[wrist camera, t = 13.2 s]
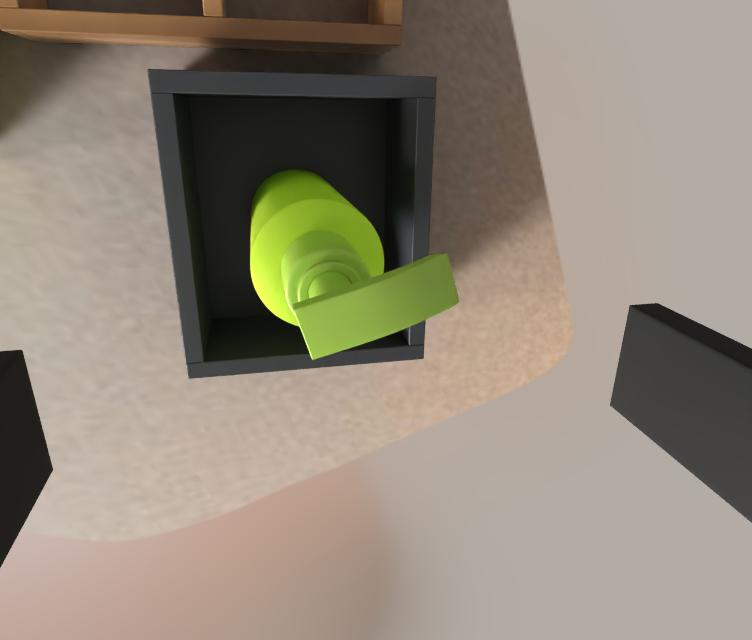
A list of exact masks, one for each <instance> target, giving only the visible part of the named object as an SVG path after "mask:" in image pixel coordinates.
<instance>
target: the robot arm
mask: <svg viewBox="0 0 752 640" xmlns="http://www.w3.org/2000/svg"><path fill="white" fill-rule="evenodd" d="M610 406H612V407H613V408H614V409H615V410H616V411H618V412H619V413H620V414H621V415H622V416H624V417H625V418H626V419H627V420H628V421H630V422H631V423H632V424H633V425H635V426H636V427H637V428H638V429H639V430H641V431H642V432H643V433H644V434H645V435H647V436H648V437H649V438H650V439H651V440H653V441H654V442H655V443H656V444H657V445H659V446H660V447H661V448H662V449H664V450H665V451H666V452H667V453H668V454H670V455H671V456H672V457H673V458H674V459H676V460H677V461H678V462H679V463H680V464H682V465H683V466H684V467H685V468H686V469H688V470H689V471H690V472H691V473H692V474H694V475H695V476H696V477H697V478H699V479H700V480H701V481H702V482H703V483H705V484H706V485H707V486H708V487H709V488H711V489H712V490H713V491H714V492H715V493H717V494H718V495H719V496H720V497H721V498H723V499H724V500H725V501H726V502H728V503H729V504H730V505H731V506H732V507H734V508H735V509H736V510H737V511H738V512H740V513H741V514H742V515H743V516H744V517H746V518H747V519H748V520H749V521H751V522H752V349H751V348H749V347H747V346H745V345H743V344H741V343H739V342H737V341H735V340H733V339H731V338H728V337H726V336H724V335H722V334H720V333H718V332H716V331H714V330H712V329H710V328H708V327H706V326H704V325H702V324H699V323H697V322H695V321H693V320H691V319H689V318H687V317H685V316H683V315H681V314H678V313H676V312H674V311H672V310H670V309H668V308H666V307H664V306H662V305H660V304H658V303H655V304H641V305H630V307H629V312H628V317H627V323H626V327H625V332H624V337H623V342H622V347H621V352H620V357H619V363H618V368H617V373H616V378H615V383H614V388H613V393H612V398H611V403H610ZM52 471H53V468H52V464H51V460H50V456H49V452H48V448H47V444H46V441H45V437H44V433H43V429H42V425H41V421H40V417H39V413H38V409H37V406H36V402H35V398H34V394H33V390H32V386H31V382H30V378H29V375H28V371H27V367H26V363H25V359H24V355H23V351H22V350H14V351H1V352H0V567H1V565H2V564H3V562H4V560H5V558H6V556H7V554H8V552H9V550H10V549H11V547H12V545H13V543H14V541H15V539H16V538H17V536H18V534H19V532H20V530H21V528H22V526H23V525H24V523H25V521H26V519H27V517H28V515H29V513H30V512H31V510H32V508H33V506H34V504H35V502H36V500H37V499H38V497H39V495H40V493H41V491H42V489H43V487H44V486H45V484H46V482H47V480H48V478H49V476H50V474H51V473H52Z"/></svg>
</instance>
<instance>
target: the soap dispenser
mask: <svg viewBox="0 0 752 640" xmlns="http://www.w3.org/2000/svg"><path fill="white" fill-rule="evenodd" d="M250 270H251V277H252V281H253V284H254V287H255V290H256V292H257V294H258V296H259V297H260V299H261V300H262V302H263V303H264V304H265V306H266V307H267V308H268V309H269V310H270V311H271V312H272V313H274V314H275V315H276V316H278V317H279V318H281V319H282V320H284V321H286V322H288V323H290V324H293V325H296V326H300V329H301V332H302V334H303V337H304V340H305V342H306V345H307V347H308V350H309V353H310V355H311V358H312V360H314V359H317V358H320V357H324V356H327V355H330V354H333V353H336V352H339V351H343V350H346V349H349V348H352V347H355V346H358V345H361V344H364V343H367V342H370V341H373V340H376V339H379V338H382V337H384V336H387V335H390V334H393V333H395V332H398V331H400V330H403V329H405V328H408V327H410V326H413V325H415V324H417V323H419V322H422V321H424V320H426V319H428V318H430V317H432V316H434V315H436V314H438V313H440V312H442V311H444V310H446V309H448V308H450V307H452V306H454V305H456V304H457V303H458V302H459V298H458V294H457V290H456V286H455V281H454V277H453V273H452V269H451V265H450V261H449V257H448V254H447V253H439V254H431V255H429V256H426V257H424V258H422V259H419V260H417V261H415V262H412V263H410V264H408V265H405V266H403V267H400V268H397V269H395V270H392V271H389V272H387V273H384V274H383V271H384V253H383V248H382V244H381V241H380V238H379V236H378V234H377V232H376V230H375V229H374V227H373V226H372V224H371V223H370V222H369V221H368V219H367V218H366V217H365V216H364V215H362V214H361V213H360V212H359V211H358V210H357V209H356V208H355V207H354V206H353V205H352V204H350V203H349V202H348V201H347V200H346V199H345V198H344V197H343V196H342V195H341V194H340V193H338V192H337V191H336V190H335V189H334V188H333V187H332V186H331V185H330V184H329V183H328V182H326V181H325V180H324V179H323V178H322V177H320V176H319V175H317V174H315V173H313V172H310V171H307V170H302V169H288V170H283V171H280V172H277V173H275V174H273V175H272V176H270V177H269V178H267V179H266V180H265V181H264V182H263V183H262V184H261V185H260V187H259V188H258V189H257V191H256V193H255V195H254V198H253V201H252V205H251V238H250Z"/></svg>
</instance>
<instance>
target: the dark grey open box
mask: <svg viewBox="0 0 752 640" xmlns="http://www.w3.org/2000/svg"><path fill="white" fill-rule="evenodd" d="M148 77H149V85H150V92H151V100H152V108H153V116H154V124H155V131H156V139H157V147H158V154H159V162H160V170H161V178H162V185H163V193H164V201H165V208H166V216H167V224H168V232H169V239H170V247H171V255H172V262H173V270H174V278H175V286H176V293H177V301H178V309H179V316H180V324H181V332H182V340H183V347H184V355H185V362H186V370H187V377H188V379H191V378H203V377H214V376H226V375H238V374H250V373H262V372H273V371H285V370H297V369H309V368H321V367H332V366H344V365H356V364H368V363H380V362H391V361H403V360H415V359H423V358H424V338H425V320H424V321H422V322H419V323H417V324H415V325H413V326H410V327H408V328H405V329H403V330H400V331H398V332H395V333H393V334H390V335H387V336H384V337H382V338H379V339H376V340H373V341H370V342H367V343H364V344H361V345H358V346H355V347H352V348H349V349H346V350H343V351H339V352H336V353H333V354H330V355H327V356H324V357H320V358H317V359H314V360H312V358H311V355H310V353H309V350H308V347H307V345H306V342H305V340H304V337H303V334H302V332H301V329H300V326H296V325H293V324H290V323H288V322H286V321H284V320H282V319H281V318H279V317H278V316H276V315H275V314H274V313H272V312H271V311H270V310H269V309H268V308H267V307H266V306H265V304H264V303H263V302H262V300H261V299H260V297H259V296H258V294H257V292H256V290H255V287H254V284H253V281H252V277H251V270H250V238H251V205H252V201H253V198H254V195H255V193H256V191H257V189H258V188H259V187H260V185H261V184H262V183H263V182H264V181H265V180H266V179H267V178H269V177H270V176H272V175H273V174H275V173H277V172H280V171H283V170H288V169H302V170H307V171H310V172H313V173H315V174H317V175H319V176H320V177H322V178H323V179H324V180H325V181H326V182H328V183H329V184H330V185H331V186H332V187H333V188H334V189H335V190H336V191H337V192H338V193H340V194H341V195H342V196H343V197H344V198H345V199H346V200H347V201H348V202H349V203H350V204H352V205H353V206H354V207H355V208H356V209H357V210H358V211H359V212H360V213H361V214H362V215H364V216H365V217H366V218H367V219H368V221H369V222H370V223H371V224H372V226H373V227H374V229H375V230H376V232H377V234H378V236H379V238H380V241H381V244H382V248H383V253H384V271H383V274H384V273H387V272H389V271H392V270H395V269H397V268H400V267H403V266H405V265H408V264H410V263H412V262H415V261H417V260H419V259H422V258H424V257H426V256H428V252H429V230H430V209H431V187H432V166H433V144H434V123H435V101H436V99H435V97H436V83H437V77H428V76H390V75H352V74H314V73H276V72H238V71H200V70H163V69H148Z"/></svg>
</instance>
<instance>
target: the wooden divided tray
mask: <svg viewBox="0 0 752 640" xmlns="http://www.w3.org/2000/svg"><path fill="white" fill-rule="evenodd" d="M202 2H203V13H204V16H205V17H203V16H181V15H160V14H138V13H116V12H94V11H73V10H51V9H48V5H47V0H0V28H1V30H2V31H5V32H8V33H11V34H14V35H17V36H20V37H23V38H26V39H29V40H32V41H35V42H58V43H87V44H115V45H144V46H173V47H202V48H231V49H259V50H288V51H317V52H346V53H375V54H383V53H386V52H388V51H390V50H392V49H394V48H397V47H399V46H401V44H402V26H401V25H402V4H403V0H369V8H368V24H355V23H334V22H312V21H290V20H268V19H247V18H226V5H225V0H202Z"/></svg>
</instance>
